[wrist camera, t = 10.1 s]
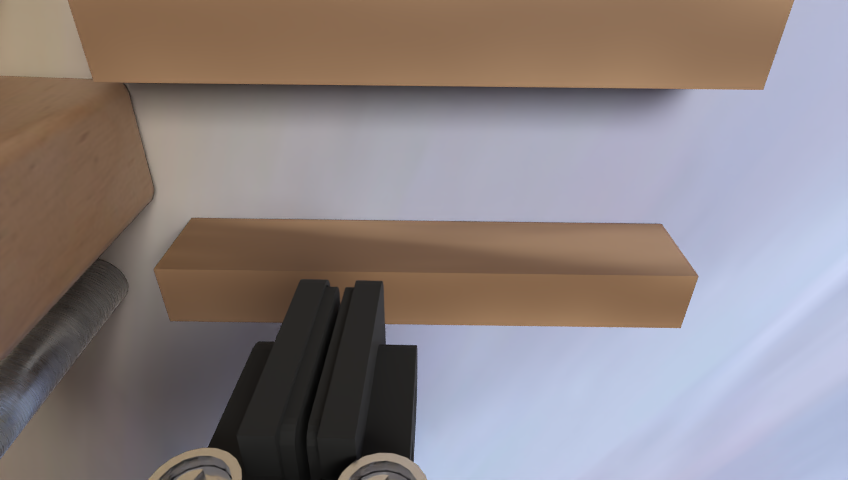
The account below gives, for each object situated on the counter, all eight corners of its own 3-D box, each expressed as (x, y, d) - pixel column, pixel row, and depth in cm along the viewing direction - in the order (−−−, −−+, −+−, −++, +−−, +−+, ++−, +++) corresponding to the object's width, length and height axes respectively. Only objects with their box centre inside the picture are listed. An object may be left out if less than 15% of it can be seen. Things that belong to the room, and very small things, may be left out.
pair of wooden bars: (647, 271, 19) (680, 327, 17) (204, 266, 20) (170, 321, 17) (730, -20, 14) (794, -2, 12) (128, -26, 14) (64, -9, 12)
